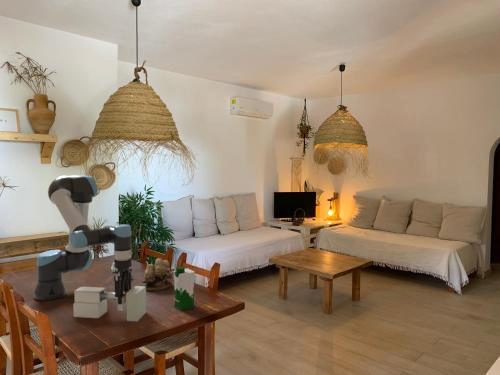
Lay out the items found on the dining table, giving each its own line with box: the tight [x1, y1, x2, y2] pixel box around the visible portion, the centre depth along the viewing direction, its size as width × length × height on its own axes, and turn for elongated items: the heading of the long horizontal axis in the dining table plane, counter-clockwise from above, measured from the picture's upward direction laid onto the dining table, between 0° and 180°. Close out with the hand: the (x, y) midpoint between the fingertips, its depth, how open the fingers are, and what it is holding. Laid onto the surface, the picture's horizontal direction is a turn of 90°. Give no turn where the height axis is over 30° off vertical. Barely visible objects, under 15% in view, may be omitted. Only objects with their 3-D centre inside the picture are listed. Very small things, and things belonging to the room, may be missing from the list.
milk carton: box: [172, 266, 196, 311], centre depth 186 cm, size 9×9×20 cm
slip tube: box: [100, 290, 129, 304], centre depth 175 cm, size 19×4×4 cm, turn 83°
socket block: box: [126, 285, 147, 322], centre depth 174 cm, size 5×10×13 cm, turn 173°
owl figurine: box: [141, 258, 174, 293], centre depth 214 cm, size 18×12×17 cm, turn 130°
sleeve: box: [73, 286, 108, 319], centre depth 177 cm, size 12×8×12 cm, turn 83°
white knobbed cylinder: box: [110, 261, 133, 279], centre depth 238 cm, size 5×7×25 cm
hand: (123, 308), depth 175 cm, fingers closed on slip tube, 4 cm apart
